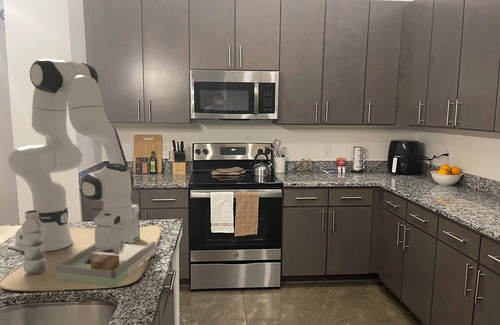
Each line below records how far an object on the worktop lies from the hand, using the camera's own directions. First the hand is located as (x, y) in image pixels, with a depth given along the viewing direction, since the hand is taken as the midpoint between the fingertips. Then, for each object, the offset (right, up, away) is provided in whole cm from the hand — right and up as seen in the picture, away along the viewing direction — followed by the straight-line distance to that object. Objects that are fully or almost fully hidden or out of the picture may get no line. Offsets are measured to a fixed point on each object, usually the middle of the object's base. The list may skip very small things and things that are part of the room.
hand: (118, 253), depth 125 cm
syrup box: (-5, -1, +26) cm, 26 cm away
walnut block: (-1, -3, -8) cm, 9 cm away
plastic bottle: (-25, -5, -4) cm, 26 cm away
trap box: (-4, -5, +2) cm, 6 cm away
